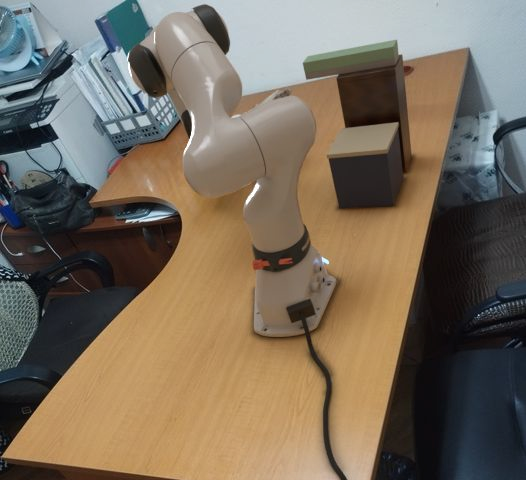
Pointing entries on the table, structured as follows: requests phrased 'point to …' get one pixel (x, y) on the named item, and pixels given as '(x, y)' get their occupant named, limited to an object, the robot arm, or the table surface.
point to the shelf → (377, 101)
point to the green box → (351, 60)
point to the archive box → (366, 165)
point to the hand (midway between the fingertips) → (283, 98)
